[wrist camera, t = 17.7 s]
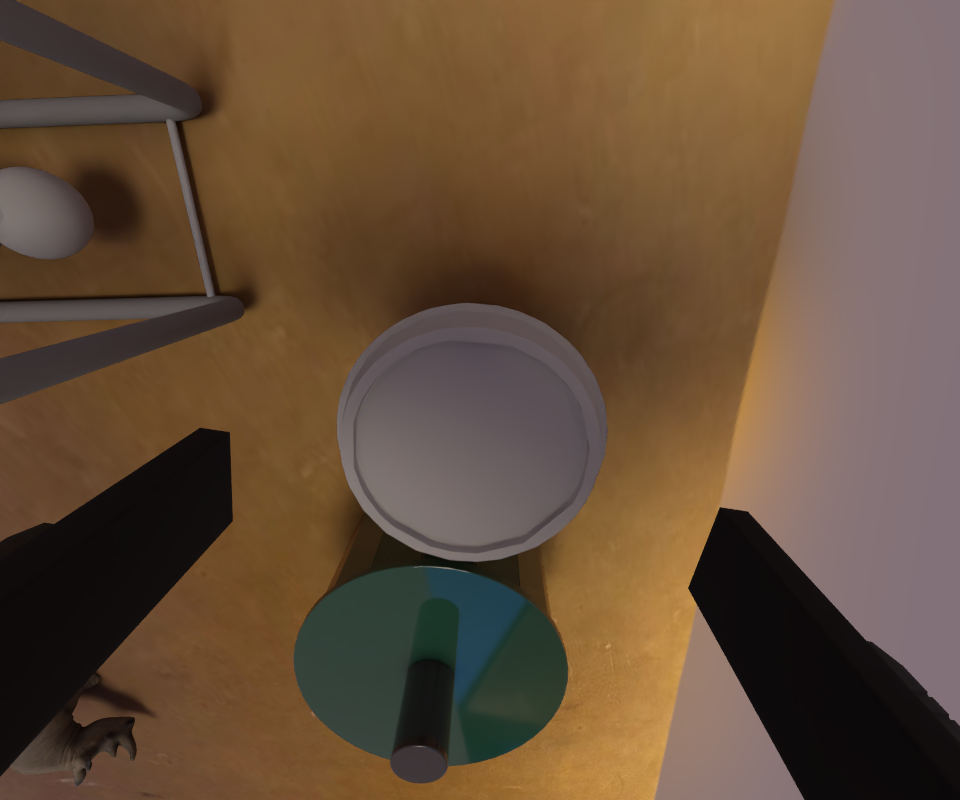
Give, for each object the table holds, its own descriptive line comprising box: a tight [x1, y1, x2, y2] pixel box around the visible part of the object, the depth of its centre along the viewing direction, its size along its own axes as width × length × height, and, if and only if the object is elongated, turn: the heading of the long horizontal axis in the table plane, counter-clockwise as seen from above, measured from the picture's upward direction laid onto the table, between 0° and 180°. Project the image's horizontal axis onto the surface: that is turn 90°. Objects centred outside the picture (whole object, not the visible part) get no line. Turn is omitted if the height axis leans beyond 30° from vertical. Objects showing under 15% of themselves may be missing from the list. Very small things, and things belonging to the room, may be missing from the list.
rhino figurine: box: [9, 673, 137, 786], centre depth 33 cm, size 4×14×6 cm, turn 51°
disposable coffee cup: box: [337, 303, 607, 562], centre depth 21 cm, size 10×10×12 cm
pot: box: [327, 512, 551, 617], centre depth 27 cm, size 13×13×8 cm
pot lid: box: [294, 559, 568, 783], centre depth 21 cm, size 14×14×5 cm
